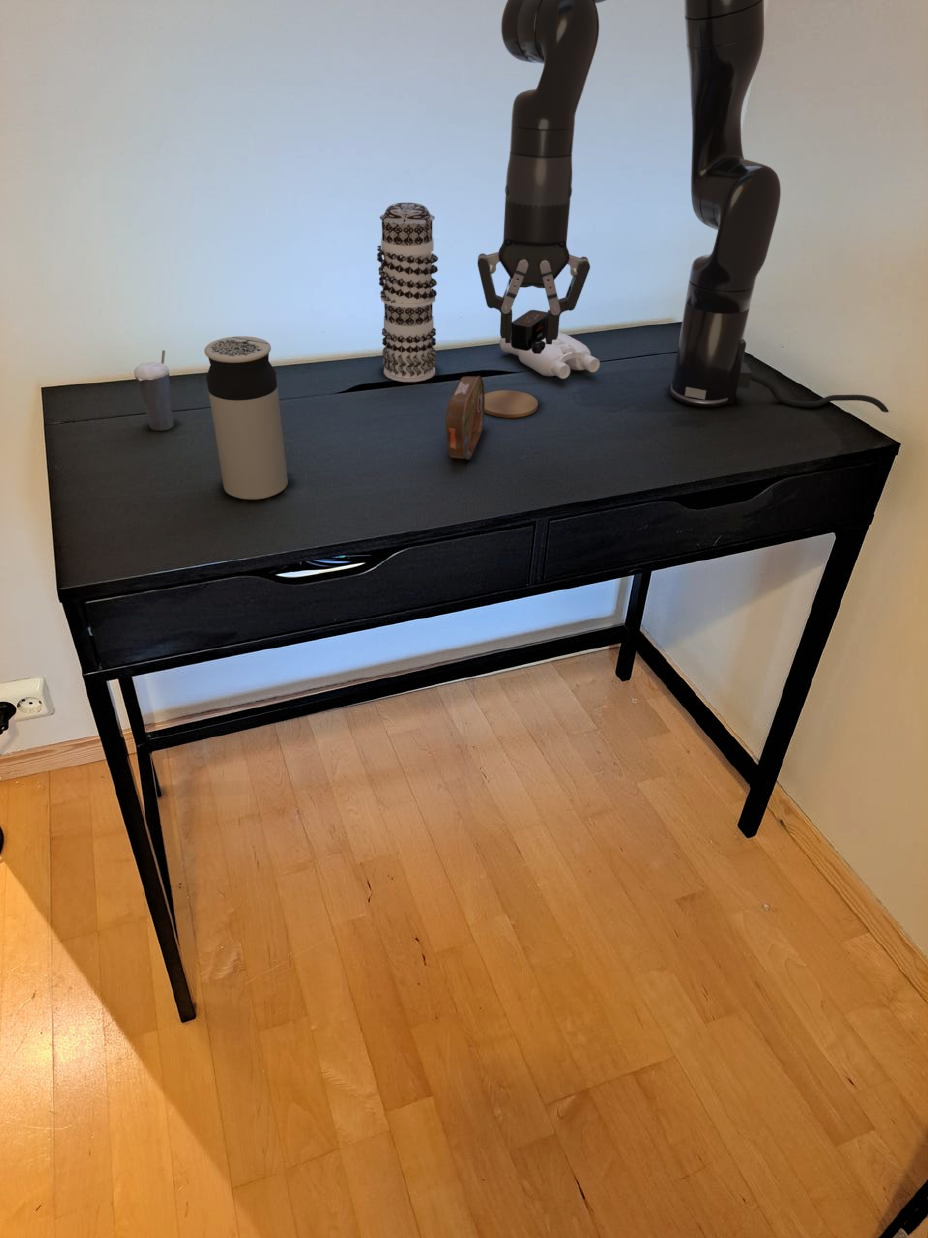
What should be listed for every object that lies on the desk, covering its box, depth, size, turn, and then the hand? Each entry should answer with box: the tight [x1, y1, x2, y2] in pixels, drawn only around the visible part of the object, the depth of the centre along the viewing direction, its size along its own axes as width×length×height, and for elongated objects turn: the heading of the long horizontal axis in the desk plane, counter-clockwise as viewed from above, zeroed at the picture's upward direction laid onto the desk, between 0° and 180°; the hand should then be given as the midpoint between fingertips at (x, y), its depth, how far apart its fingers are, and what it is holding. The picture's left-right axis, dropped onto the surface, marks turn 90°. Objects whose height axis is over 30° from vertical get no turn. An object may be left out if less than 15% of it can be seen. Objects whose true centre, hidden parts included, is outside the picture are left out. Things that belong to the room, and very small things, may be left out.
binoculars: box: [499, 331, 601, 380], centre depth 148 cm, size 10×16×5 cm, turn 30°
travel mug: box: [203, 335, 289, 500], centre depth 108 cm, size 8×8×18 cm
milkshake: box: [133, 350, 175, 432], centre depth 125 cm, size 4×5×10 cm
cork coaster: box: [484, 389, 539, 419], centre depth 136 cm, size 9×9×1 cm
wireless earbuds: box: [511, 309, 548, 354], centre depth 113 cm, size 5×7×3 cm, turn 152°
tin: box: [445, 375, 485, 461], centre depth 122 cm, size 15×3×8 cm, turn 168°
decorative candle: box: [376, 202, 439, 383], centre depth 138 cm, size 9×9×25 cm
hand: (528, 340), depth 114 cm, fingers closed on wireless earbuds, 4 cm apart
